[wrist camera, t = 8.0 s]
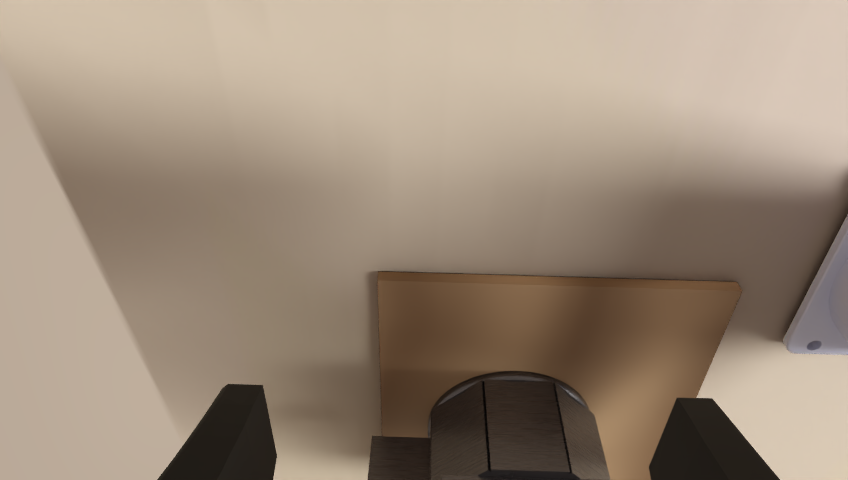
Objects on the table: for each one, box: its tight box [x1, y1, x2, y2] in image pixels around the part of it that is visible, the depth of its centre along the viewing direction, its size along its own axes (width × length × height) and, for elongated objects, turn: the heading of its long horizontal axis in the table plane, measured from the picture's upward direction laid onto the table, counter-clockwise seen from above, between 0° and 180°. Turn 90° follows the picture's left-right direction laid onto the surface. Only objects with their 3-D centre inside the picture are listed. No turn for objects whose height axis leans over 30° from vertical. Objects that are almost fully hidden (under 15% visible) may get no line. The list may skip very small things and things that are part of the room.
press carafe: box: [368, 371, 610, 480], centre depth 25 cm, size 9×7×5 cm
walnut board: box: [377, 272, 742, 480], centre depth 27 cm, size 13×18×1 cm
